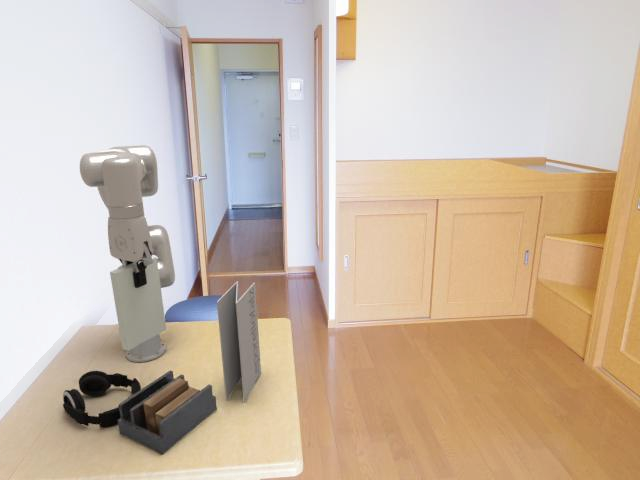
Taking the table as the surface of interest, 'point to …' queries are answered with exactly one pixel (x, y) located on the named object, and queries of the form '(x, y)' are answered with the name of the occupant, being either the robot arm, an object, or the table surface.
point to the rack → (170, 426)
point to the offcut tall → (162, 402)
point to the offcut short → (174, 405)
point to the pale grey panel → (138, 305)
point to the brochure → (239, 339)
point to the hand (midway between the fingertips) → (137, 284)
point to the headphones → (96, 386)
